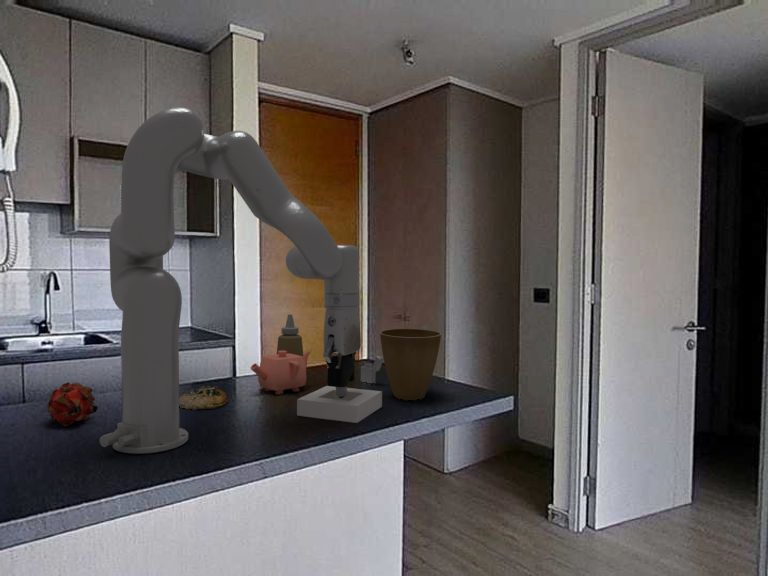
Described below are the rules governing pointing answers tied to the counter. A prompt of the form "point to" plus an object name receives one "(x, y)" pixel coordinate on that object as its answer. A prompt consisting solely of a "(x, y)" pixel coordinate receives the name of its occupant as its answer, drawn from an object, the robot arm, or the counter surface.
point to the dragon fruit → (71, 403)
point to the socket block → (339, 404)
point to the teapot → (282, 371)
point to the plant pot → (410, 360)
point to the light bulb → (345, 375)
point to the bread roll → (203, 398)
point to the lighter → (371, 370)
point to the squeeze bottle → (290, 339)
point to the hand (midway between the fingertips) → (341, 382)
